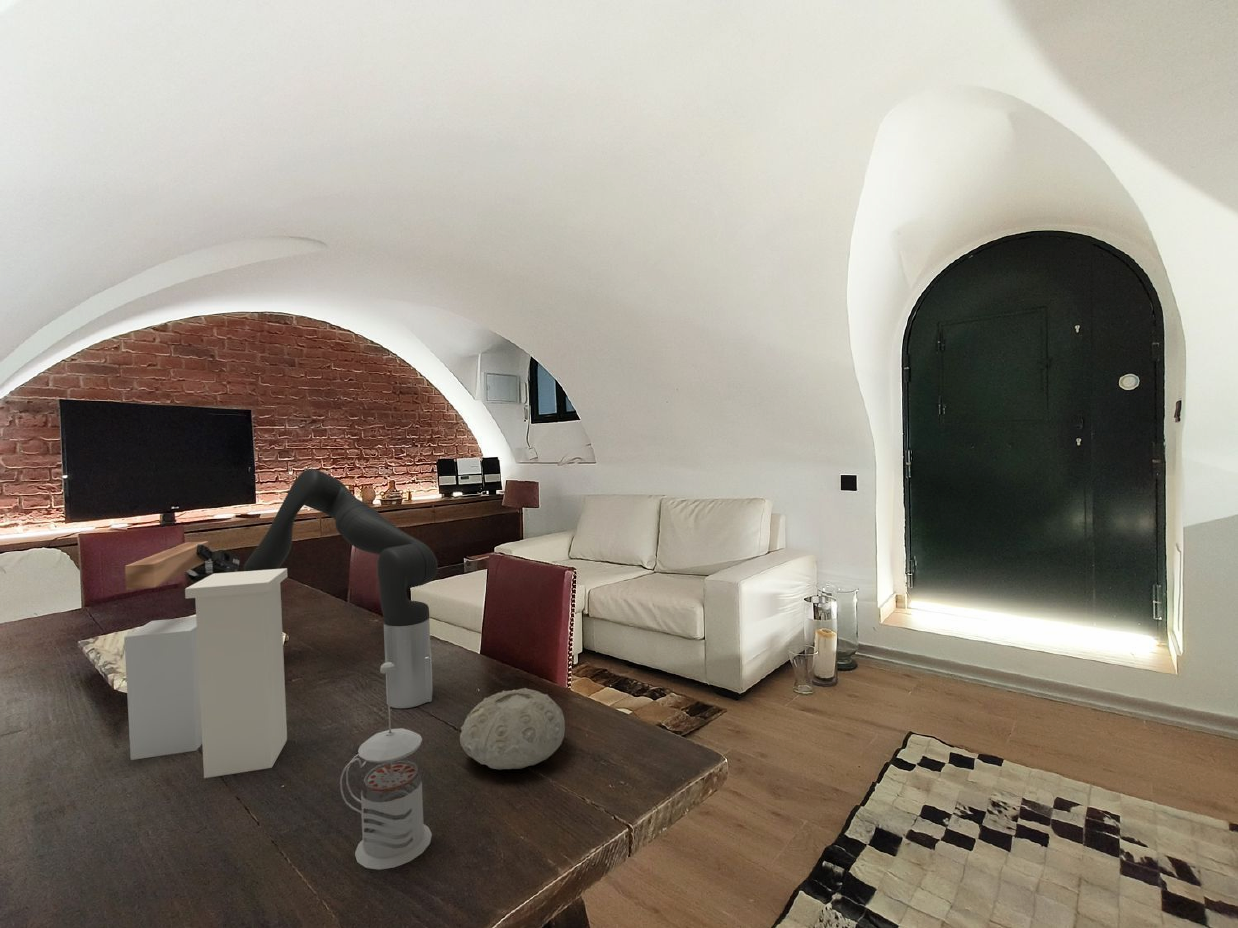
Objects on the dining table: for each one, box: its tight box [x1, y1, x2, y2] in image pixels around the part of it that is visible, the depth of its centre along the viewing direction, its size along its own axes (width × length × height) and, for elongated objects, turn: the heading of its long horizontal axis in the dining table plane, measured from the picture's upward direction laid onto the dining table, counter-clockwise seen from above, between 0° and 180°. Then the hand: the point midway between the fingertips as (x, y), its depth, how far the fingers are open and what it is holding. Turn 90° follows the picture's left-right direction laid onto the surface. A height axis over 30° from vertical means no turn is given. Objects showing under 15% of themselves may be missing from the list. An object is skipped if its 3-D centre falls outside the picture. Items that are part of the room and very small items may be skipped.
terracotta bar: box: [124, 540, 210, 591], centre depth 111 cm, size 4×24×4 cm, turn 16°
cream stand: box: [184, 567, 289, 779], centre depth 103 cm, size 12×12×32 cm
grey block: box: [123, 616, 202, 761], centre depth 110 cm, size 10×10×22 cm
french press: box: [339, 662, 433, 870], centre depth 80 cm, size 10×12×25 cm
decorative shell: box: [459, 687, 566, 770], centre depth 103 cm, size 18×18×10 cm
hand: (185, 549), depth 117 cm, fingers closed on terracotta bar, 4 cm apart
